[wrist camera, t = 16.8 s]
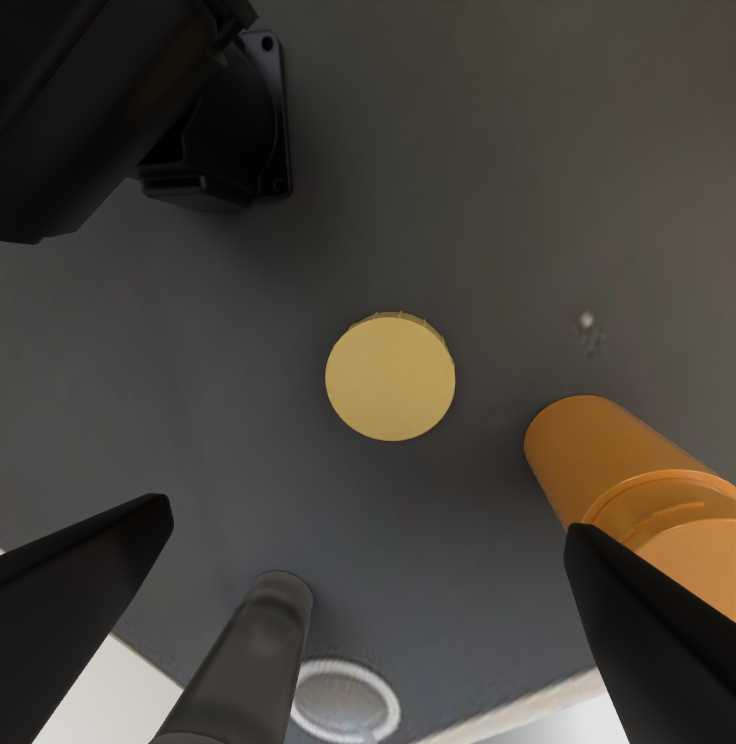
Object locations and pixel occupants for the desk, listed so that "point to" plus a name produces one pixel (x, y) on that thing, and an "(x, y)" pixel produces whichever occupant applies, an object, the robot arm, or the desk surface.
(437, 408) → the honey lid
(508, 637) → the desk surface
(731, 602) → the honey jar
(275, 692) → the beverage cup
